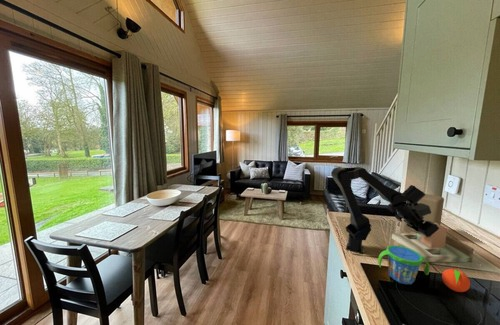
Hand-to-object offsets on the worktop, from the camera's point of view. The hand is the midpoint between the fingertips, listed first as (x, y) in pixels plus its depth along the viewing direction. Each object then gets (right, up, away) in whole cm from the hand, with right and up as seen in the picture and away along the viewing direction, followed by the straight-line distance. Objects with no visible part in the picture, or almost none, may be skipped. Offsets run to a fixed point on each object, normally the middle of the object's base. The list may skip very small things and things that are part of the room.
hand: (426, 233), depth 97 cm
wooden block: (+14, -5, +18) cm, 24 cm away
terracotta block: (+3, -5, +1) cm, 6 cm away
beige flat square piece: (+1, -7, +1) cm, 8 cm away
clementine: (-11, -11, -25) cm, 29 cm away
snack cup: (-25, -10, -19) cm, 33 cm away
